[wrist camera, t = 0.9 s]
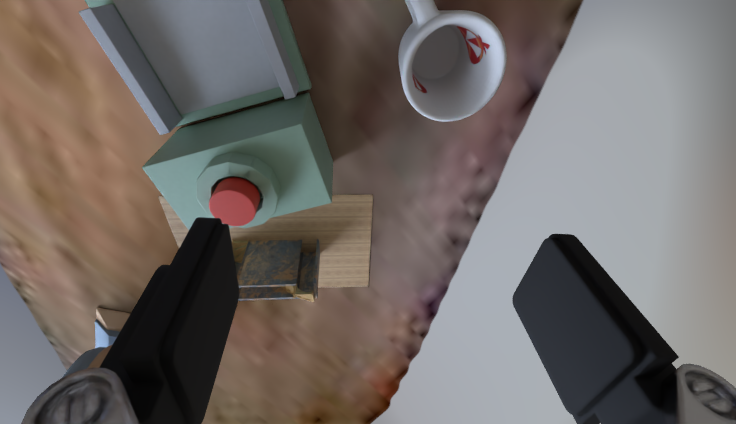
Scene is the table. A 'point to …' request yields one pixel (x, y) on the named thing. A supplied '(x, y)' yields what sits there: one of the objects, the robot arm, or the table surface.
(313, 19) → the table surface
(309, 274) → the architectural model on board
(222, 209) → the button
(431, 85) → the cup
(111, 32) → the drip tray
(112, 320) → the alarm clock
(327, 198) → the red push button box
